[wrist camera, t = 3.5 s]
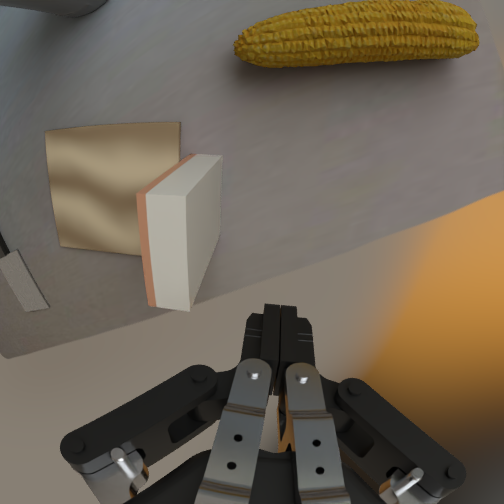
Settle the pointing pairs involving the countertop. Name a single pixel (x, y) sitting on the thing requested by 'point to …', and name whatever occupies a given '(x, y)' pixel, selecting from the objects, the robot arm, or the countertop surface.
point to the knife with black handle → (21, 279)
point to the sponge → (179, 229)
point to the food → (360, 34)
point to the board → (106, 180)
